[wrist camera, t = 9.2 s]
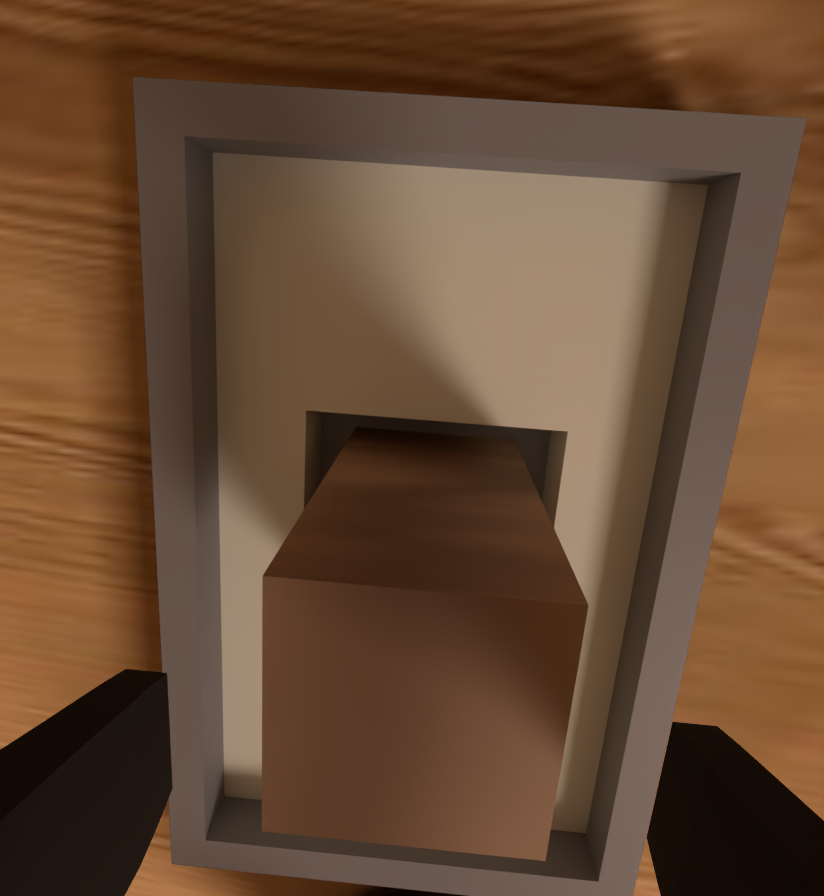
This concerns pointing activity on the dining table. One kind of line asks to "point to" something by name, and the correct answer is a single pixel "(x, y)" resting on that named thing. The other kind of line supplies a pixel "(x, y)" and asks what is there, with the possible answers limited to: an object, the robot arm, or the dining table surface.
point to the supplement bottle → (407, 893)
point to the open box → (445, 401)
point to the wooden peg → (420, 651)
